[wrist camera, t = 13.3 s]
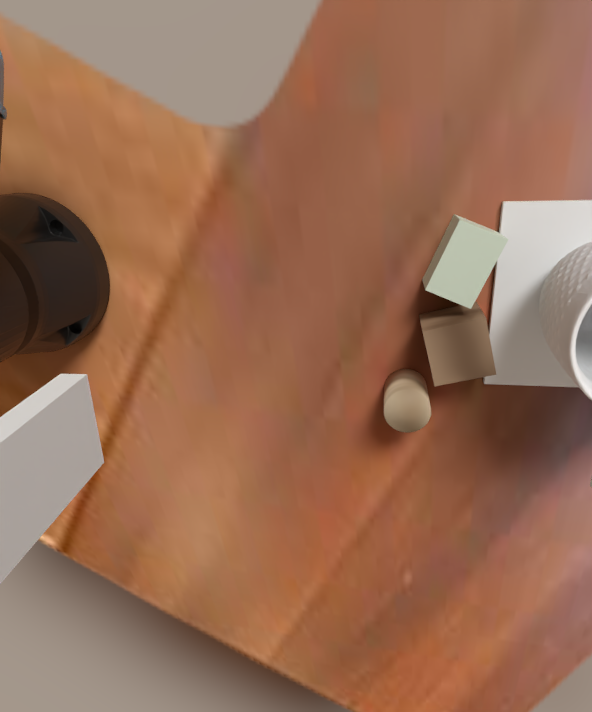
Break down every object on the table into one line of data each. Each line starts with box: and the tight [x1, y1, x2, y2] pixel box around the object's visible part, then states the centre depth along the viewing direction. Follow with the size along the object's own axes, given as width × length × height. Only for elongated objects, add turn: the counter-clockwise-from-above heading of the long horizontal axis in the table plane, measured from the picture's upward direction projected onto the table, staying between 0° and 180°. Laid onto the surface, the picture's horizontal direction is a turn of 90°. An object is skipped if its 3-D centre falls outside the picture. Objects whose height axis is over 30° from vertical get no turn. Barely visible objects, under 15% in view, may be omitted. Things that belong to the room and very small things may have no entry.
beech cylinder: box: [384, 369, 431, 432], centre depth 47 cm, size 4×4×5 cm
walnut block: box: [419, 302, 496, 386], centre depth 45 cm, size 5×5×5 cm
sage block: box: [422, 214, 508, 309], centre depth 43 cm, size 4×6×4 cm, turn 159°
